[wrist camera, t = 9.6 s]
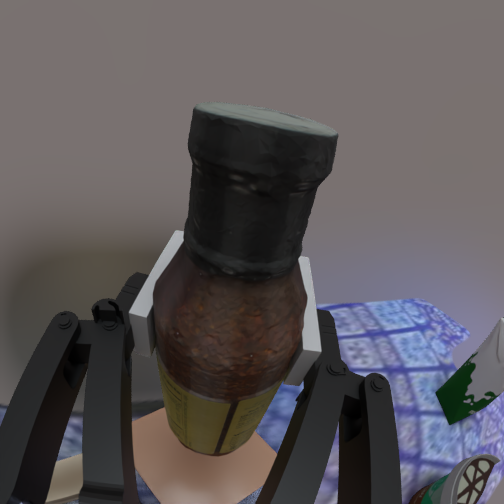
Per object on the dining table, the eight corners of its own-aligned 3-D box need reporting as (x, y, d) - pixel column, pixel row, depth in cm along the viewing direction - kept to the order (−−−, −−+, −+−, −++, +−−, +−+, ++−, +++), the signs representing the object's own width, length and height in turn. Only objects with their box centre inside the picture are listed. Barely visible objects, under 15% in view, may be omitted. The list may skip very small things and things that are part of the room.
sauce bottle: (246, 388, 21) (342, 125, 10) (256, 458, 16) (443, 180, 5) (164, 384, 20) (180, 91, 9) (162, 458, 15) (138, 106, 4)
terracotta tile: (114, 433, 24) (112, 429, 24) (211, 387, 33) (212, 382, 32) (185, 532, 16) (185, 532, 16) (285, 467, 25) (288, 465, 24)
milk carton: (457, 381, 38) (524, 302, 27) (475, 417, 31) (552, 342, 20) (430, 389, 37) (505, 303, 26) (447, 431, 29) (537, 351, 18)
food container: (430, 463, 25) (479, 433, 19) (451, 484, 21) (501, 457, 15) (380, 522, 18) (436, 507, 13) (405, 545, 14) (463, 532, 9)
